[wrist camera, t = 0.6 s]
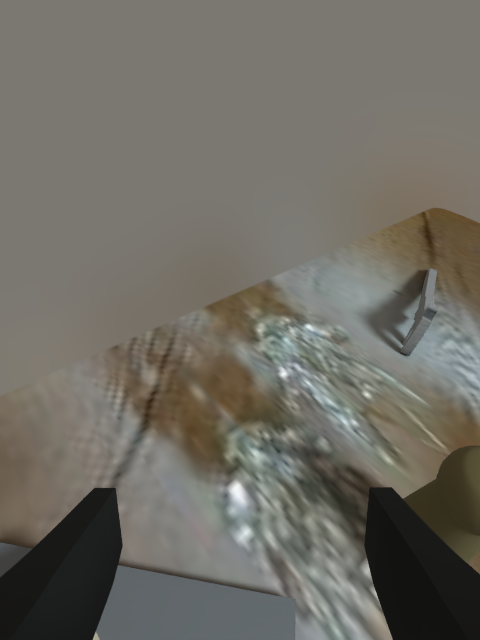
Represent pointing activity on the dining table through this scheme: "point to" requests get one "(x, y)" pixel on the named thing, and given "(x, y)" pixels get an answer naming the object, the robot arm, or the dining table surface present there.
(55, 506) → the dining table surface
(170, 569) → the dining table surface
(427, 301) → the caliper
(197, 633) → the charcoal board
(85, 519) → the robot arm
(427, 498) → the cork
